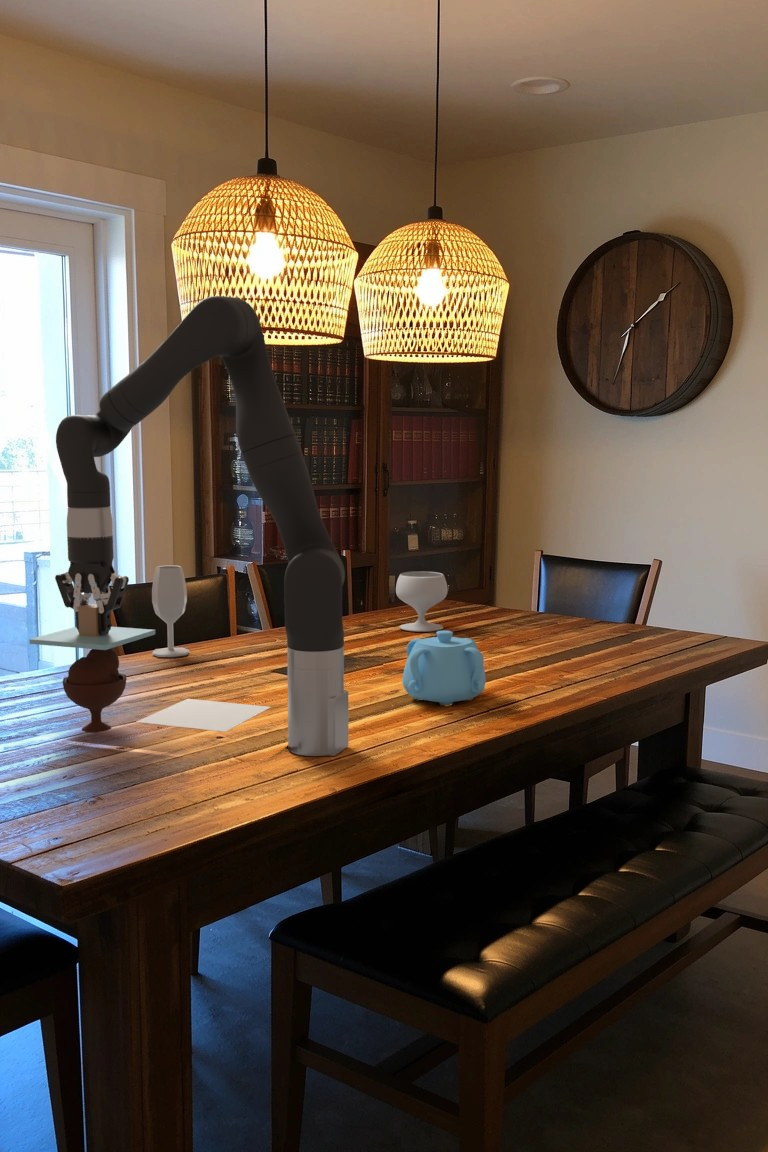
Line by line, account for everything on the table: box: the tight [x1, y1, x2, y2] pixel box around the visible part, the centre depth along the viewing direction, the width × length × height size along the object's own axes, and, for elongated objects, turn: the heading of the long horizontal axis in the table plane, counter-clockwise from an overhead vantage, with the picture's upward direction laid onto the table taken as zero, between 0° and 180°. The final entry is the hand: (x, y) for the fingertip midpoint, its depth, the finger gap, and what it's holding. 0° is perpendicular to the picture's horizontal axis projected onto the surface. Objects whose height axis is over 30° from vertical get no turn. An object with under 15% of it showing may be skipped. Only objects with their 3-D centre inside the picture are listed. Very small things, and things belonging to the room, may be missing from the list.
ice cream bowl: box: [62, 648, 127, 734], centre depth 181 cm, size 11×11×15 cm
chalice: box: [395, 570, 449, 633], centre depth 282 cm, size 14×14×15 cm
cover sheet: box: [29, 603, 156, 650], centre depth 180 cm, size 15×15×6 cm
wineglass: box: [151, 564, 190, 658], centre depth 246 cm, size 9×9×21 cm
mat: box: [135, 698, 272, 733], centre depth 192 cm, size 18×18×1 cm
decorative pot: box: [402, 630, 486, 706], centre depth 205 cm, size 16×16×14 cm
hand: (93, 632), depth 180 cm, fingers closed on cover sheet, 3 cm apart
